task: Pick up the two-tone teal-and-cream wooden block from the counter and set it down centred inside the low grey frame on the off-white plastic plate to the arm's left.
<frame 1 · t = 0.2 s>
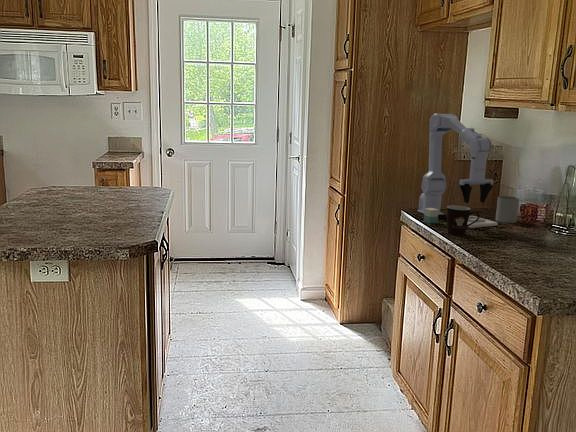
hand: (474, 202, 225), 10 cm above the countertop, fingers open, 7 cm apart
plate: (472, 222, 234), on the countertop
block: (430, 222, 233), on the countertop
coffee mug: (460, 234, 214), on the countertop
cup: (505, 221, 241), on the countertop
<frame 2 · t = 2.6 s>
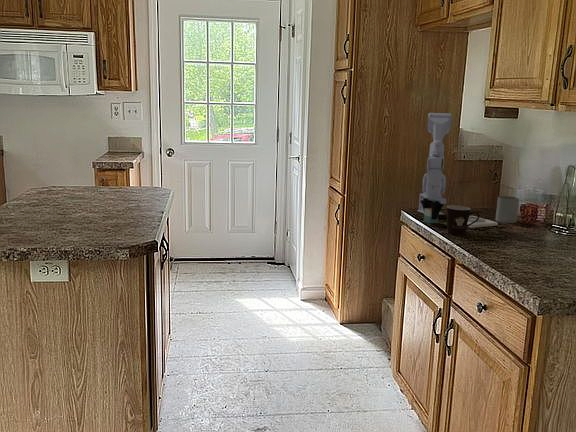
hand: (430, 218, 233), 2 cm above the countertop, fingers closed on block, 4 cm apart
block: (430, 221, 233), on the countertop, touching gripper
everything else where it was.
when the fingers open (3 cm above the countertop, at t = 6.5 s): block stays where it is, resting on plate.
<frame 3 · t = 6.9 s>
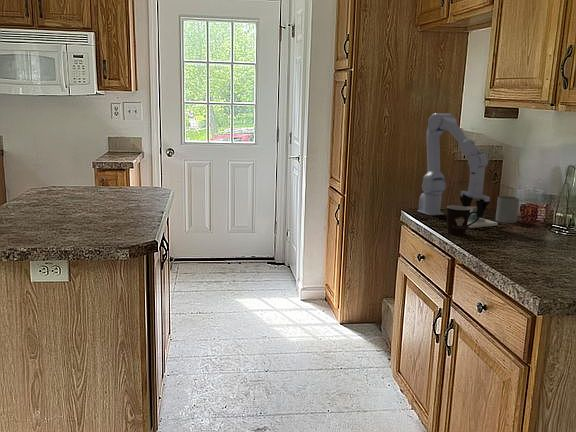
hand: (472, 215, 233), 3 cm above the countertop, fingers open, 7 cm apart
block: (471, 220, 234), point 1 cm above the countertop, touching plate
everything else where it was.
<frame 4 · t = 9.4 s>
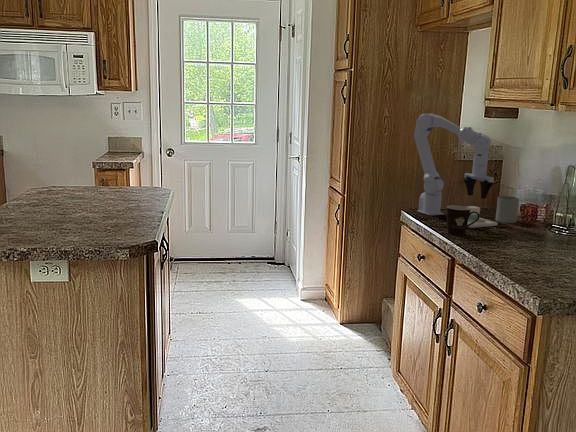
hand: (476, 196, 239), 10 cm above the countertop, fingers open, 7 cm apart
nothing on the countertop moved.
at the end: block 0.4 cm off-centre on the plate, point 1.2 cm above the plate's base; block tilted 0°; the gripper is holding nothing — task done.
